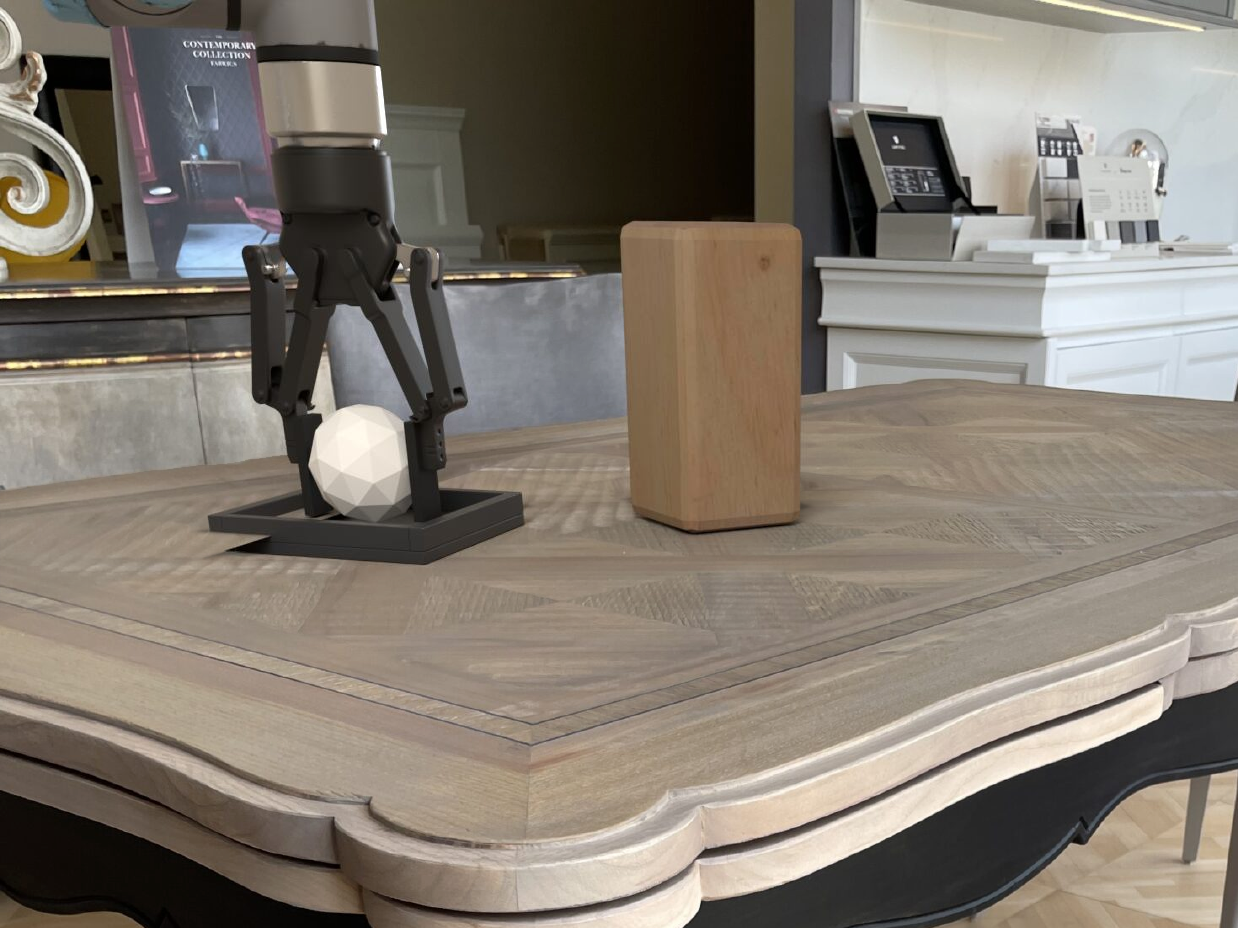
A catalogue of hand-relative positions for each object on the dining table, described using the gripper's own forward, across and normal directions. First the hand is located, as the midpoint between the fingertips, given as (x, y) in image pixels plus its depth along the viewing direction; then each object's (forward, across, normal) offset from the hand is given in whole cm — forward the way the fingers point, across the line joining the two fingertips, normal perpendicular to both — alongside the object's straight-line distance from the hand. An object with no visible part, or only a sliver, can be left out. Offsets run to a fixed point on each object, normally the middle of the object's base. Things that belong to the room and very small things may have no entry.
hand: (373, 515), depth 113 cm
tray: (+1, 0, 0) cm, 1 cm away
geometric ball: (+1, 0, 0) cm, 1 cm away
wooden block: (+2, -21, -14) cm, 25 cm away
